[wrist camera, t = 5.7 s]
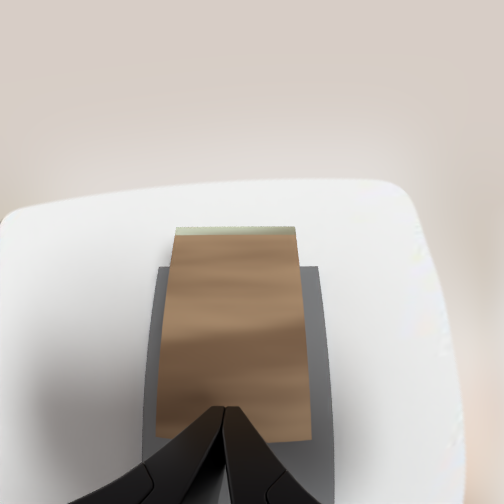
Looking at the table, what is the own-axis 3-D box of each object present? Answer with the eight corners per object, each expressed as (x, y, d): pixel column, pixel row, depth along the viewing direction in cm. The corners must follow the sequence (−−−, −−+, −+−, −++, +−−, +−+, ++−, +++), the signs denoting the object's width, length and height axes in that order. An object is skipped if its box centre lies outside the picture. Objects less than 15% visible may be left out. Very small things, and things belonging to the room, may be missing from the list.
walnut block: (311, 439, 9) (294, 226, 15) (155, 436, 9) (176, 227, 14) (295, 434, 13) (286, 266, 18) (178, 433, 12) (189, 266, 18)
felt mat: (331, 508, 10) (334, 511, 10) (146, 506, 10) (143, 508, 10) (316, 270, 18) (317, 266, 18) (160, 270, 18) (158, 266, 18)
